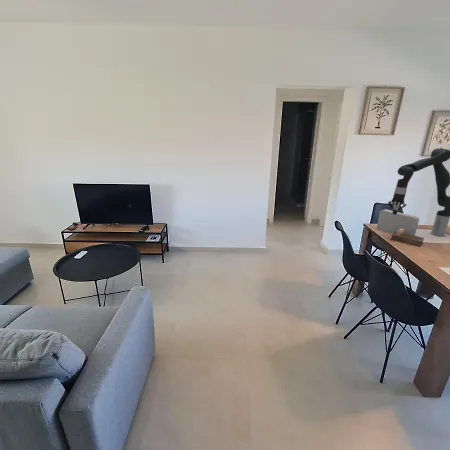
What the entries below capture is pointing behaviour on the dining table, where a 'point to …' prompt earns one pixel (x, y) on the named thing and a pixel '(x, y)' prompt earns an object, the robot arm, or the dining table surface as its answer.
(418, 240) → the console
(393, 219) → the rounded white slab
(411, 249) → the dining table surface
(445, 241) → the dining table surface
